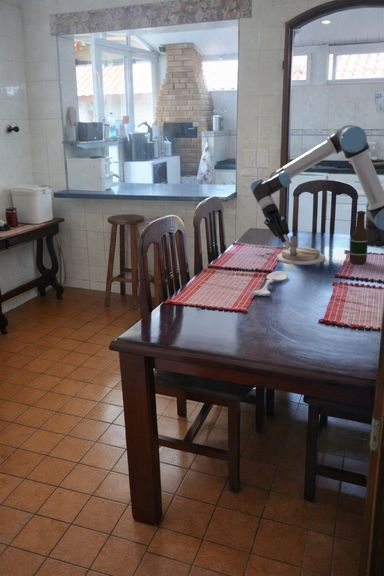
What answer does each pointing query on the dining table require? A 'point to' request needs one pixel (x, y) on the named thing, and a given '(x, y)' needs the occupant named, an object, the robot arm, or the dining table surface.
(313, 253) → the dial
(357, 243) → the beer bottle
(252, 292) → the spoon
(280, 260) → the white plate
